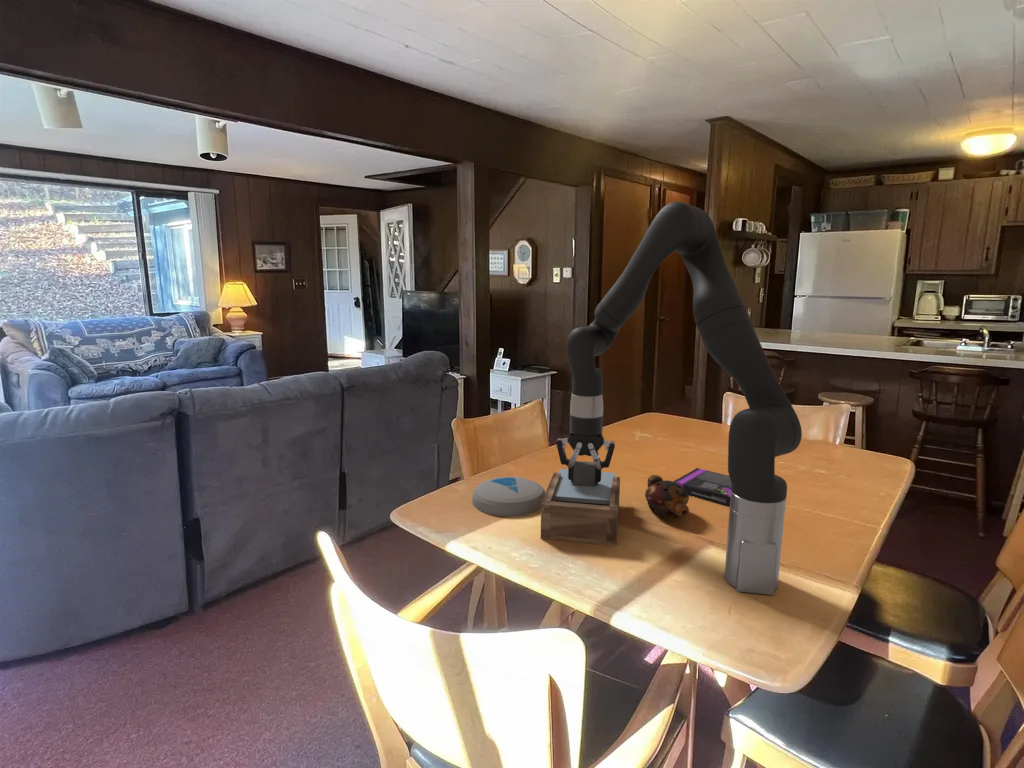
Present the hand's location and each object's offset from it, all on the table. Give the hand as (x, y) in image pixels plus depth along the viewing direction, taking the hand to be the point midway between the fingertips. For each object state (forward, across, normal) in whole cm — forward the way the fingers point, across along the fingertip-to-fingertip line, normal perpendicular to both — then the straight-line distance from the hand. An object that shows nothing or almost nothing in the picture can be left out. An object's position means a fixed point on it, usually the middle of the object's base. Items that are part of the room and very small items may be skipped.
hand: (584, 482), depth 138 cm
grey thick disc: (+8, -19, +3) cm, 21 cm away
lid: (+1, 0, 0) cm, 1 cm away
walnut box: (+7, 0, -6) cm, 10 cm away
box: (+8, +33, +19) cm, 39 cm away
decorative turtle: (+8, +19, +3) cm, 21 cm away
